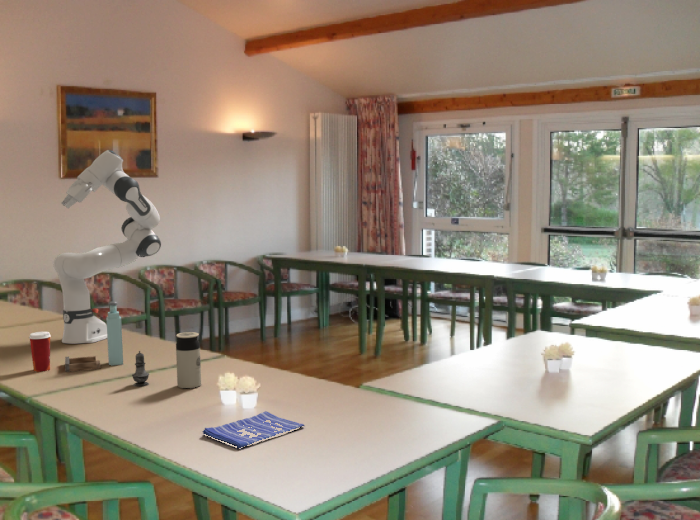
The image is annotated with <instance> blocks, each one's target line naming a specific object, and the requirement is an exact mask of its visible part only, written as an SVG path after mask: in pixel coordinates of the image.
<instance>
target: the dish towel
mask: <svg viewBox="0 0 700 520" xmlns="http://www.w3.org/2000/svg"><path fill="white" fill-rule="evenodd" d="M266 420H270V421H271V423H269V422H265V421H266ZM263 422H264V423H263ZM275 423H278V424H280V425H282V426H283V427H282V426H279V425H277V424H275ZM270 424H271V425H270ZM243 425H244V426H243ZM271 426H273V427H275V428H272V427H271ZM302 426H304V427H306V426H305V424H304V423H299V422H296V421H292V420H289V419H285V418H282V417H278V416H277V415H275V414H273V413H270V412H268V411H266V410H265V411H263V412H261V413H259V414H256V415H253V416H252V417H246V418H244V419H240V420H236V421H233V422H230V423H226V424H223V425H218V426H216V427H213V426H211V427H204V429H203V431H201V432H202V435H203V434H206V435H208V436H211V437H213V438H215V439H218V440H221V441H224V442H227V443H229V444H232V445H234V446H237V448H241V447H244V446H247V445H250V444H252V443H254V442H257V441H259V440H262V439H266V438H269V437H272V436H275V435H276V434H279V433H283V432H286V431H290V430H292V429H296V428H299V427H302ZM248 427H250V428H248ZM251 427H252V428H251ZM276 427H277V428H282V430H280V431H278V430H277V429H276ZM242 429H245V431H247V432H250V433H253V434H255V435H257V433H261V435H258V436H257V437H252V438H249V436H250V435H247V434H246V435H244V436H241V435H239V434H242V433H243V432H237V431H239V430H242ZM254 429H255V430H256V431H253V430H254ZM275 429H276V430H275ZM274 431H277V432H274Z"/></svg>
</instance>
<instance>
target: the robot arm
mask: <svg viewBox="0 0 700 520" xmlns="http://www.w3.org/2000/svg"><path fill="white" fill-rule="evenodd" d="M123 162H124V159H123V157H121V155H119V154H117V153H116V152H115V151H113V149H107V150H105V151H103V152H101V154H100V155H99V156H97V157H96V158H95V160H93V161H92V163H91V165H89V166H88V167H86V168H85V169H84V170H83V171H82V172H81V173H80V174H79V175H77V177H76V178H77V179H76V180H75V181H73V183H72V184H71V186H69V187H68V189H67V190H66V194H67V195H66V196H65V197H64V199H63V200H62V201H61V202H60V204H61V205H62V206H64V207H65V208H66V209H70V208H71V207H72V206H74V205H75V204H76V203H77V202H78V203H82V202H83V201H85V199H86V198H87V197H88V196H89V195H90V194H91V192H93V193H95V192H96V191H97V190H99V188H100V187H101V186H103V187H104V188H106V189H107V190H108V191H109V192H111V193H112V194H114V196H116V198H118V199H119V200H120V201H122V202H123V203H126V204H125V209H126V212H127V213H128V214H129V217H128V218H126V219H125V220H124V222H123V223H122V225H121V232H122V234H123V235H124V237H125V238H126V240H125V241H123V242H117V243H111V244H108V245H104V246H98V247H95V248H94V249H92V250H88V251H86V252H79V253H78V252H70V251H69V252H62V253H61V254H59V255H57V256H56V257H55V259H54V260H53V268H54V271H55V272H56V273H57V276H58V280H59V283H60V287H61V292H62V299H63V310H62V318H63V333H62V339H61V342H62V343H63V344H73V345H74V344H93V343H96V342H99V341H103V340H107V322H106V321H103V320H101V319H100V318H99V317H97V316H95V314H98V313H99V311H100V310H99V308H92V307H91V293H90V289H89V288H88V286H87V283H86V281H85V280H86V279H90V278H92V277H94V276H96V275H98V274H101V273H103V272H107V271H110V270H111V271H112V270H115V269H118V268H121V267H122V268H123V267H125V266H127V265H130V264H132V263H134V262H135V261H137V260H138V257H140V258H145V257H146V258H147V257H151V256H154V255H155V254H157V253H158V252H159V251H160V249H161V248H162V242H161V239H160V238H159V236H158V235H157V234H156V233H155V232H154V231H153V229H155V228H156V227H157V226H159V224H160V221H161V215H160V214H159V211H158V209H157V208H156V206H155V205H154V203H153V202H152V201H151V200H150V199H149V198H148V197H146V196H145V195H144V194H142V193H141V189H140V184H139V183H138V181H137V180H136V179H134V178H133V177H131V176H129V174H127V173H125V171H124V170H123V169H124V168H123ZM94 313H95V314H94Z"/></svg>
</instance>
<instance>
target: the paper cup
mask: <svg viewBox="0 0 700 520" xmlns="http://www.w3.org/2000/svg"><path fill="white" fill-rule="evenodd" d="M51 335H52V334H50V332H49V331H36V332H31V333H30V334H29V337H28V339H29V343H30V349H31V350H30V353H31V358H32V367H33V371H34V372H35V371H36V372H35V373H42V372H41V371H44V372H47V370H48V371H50V369H51V337H52V336H51Z"/></svg>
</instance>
